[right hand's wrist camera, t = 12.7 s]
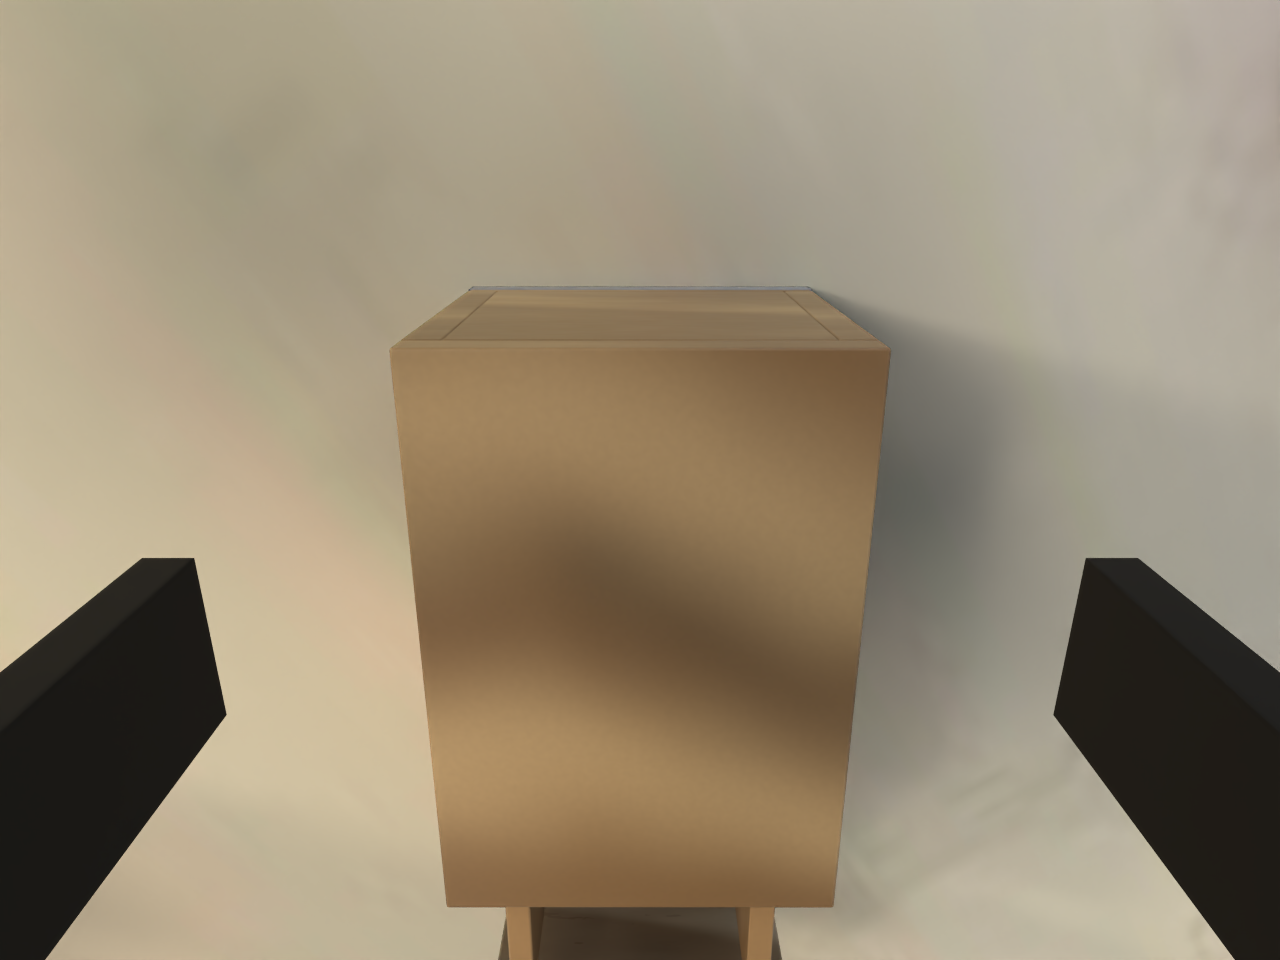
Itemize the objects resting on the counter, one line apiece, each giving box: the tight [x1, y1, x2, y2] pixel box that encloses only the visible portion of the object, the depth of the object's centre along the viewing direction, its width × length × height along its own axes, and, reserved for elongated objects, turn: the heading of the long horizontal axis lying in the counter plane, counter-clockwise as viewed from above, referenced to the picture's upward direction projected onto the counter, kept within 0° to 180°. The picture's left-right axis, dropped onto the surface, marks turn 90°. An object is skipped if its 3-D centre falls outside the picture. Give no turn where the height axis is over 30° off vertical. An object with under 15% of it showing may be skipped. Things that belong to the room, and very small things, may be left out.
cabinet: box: [390, 287, 891, 907], centre depth 27 cm, size 17×12×10 cm
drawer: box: [498, 907, 782, 960], centre depth 31 cm, size 22×10×8 cm, turn 0°
